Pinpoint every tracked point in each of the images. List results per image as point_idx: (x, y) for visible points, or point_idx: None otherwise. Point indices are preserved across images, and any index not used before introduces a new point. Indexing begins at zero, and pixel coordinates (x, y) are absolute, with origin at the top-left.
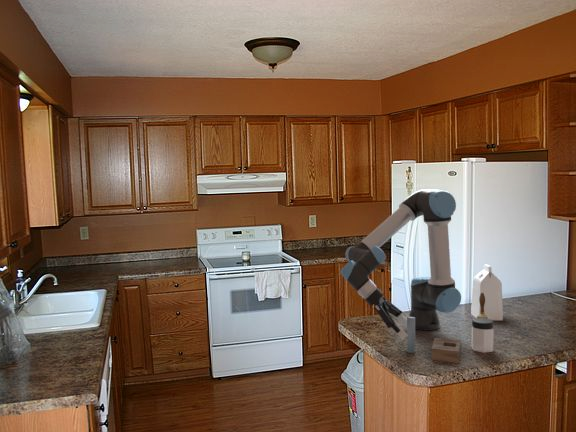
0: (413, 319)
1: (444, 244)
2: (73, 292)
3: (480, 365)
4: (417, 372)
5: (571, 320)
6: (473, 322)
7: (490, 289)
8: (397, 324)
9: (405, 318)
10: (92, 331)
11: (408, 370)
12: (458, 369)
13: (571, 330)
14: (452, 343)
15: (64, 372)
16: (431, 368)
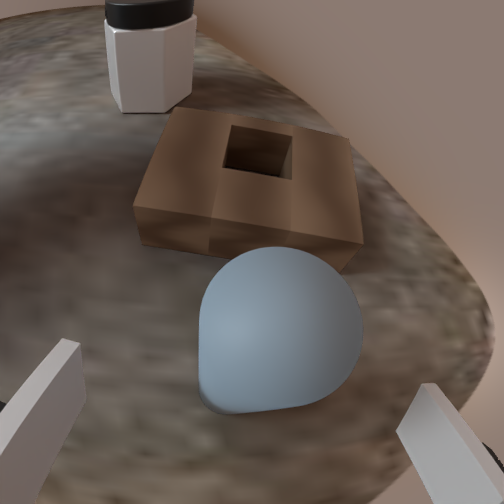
0: (338, 285)
1: None
2: None
3: (326, 124)
4: (480, 333)
5: (8, 17)
6: (159, 7)
7: None
8: (495, 480)
9: (9, 409)
10: None
11: (477, 369)
12: (395, 190)
13: (52, 9)
14: (227, 138)
15: None
16: (430, 281)
